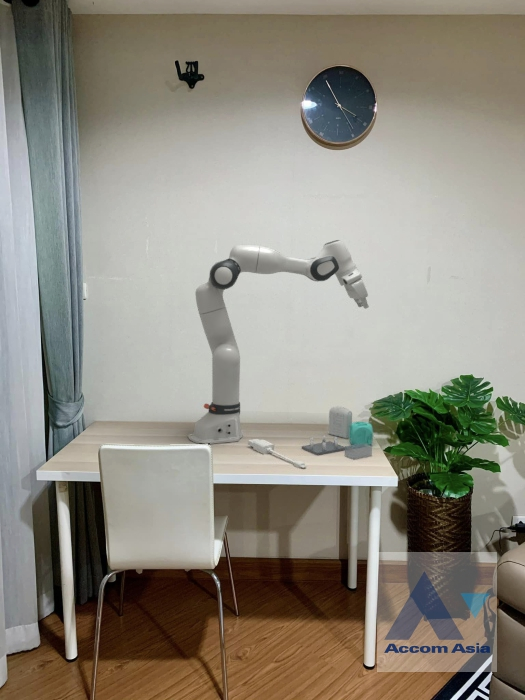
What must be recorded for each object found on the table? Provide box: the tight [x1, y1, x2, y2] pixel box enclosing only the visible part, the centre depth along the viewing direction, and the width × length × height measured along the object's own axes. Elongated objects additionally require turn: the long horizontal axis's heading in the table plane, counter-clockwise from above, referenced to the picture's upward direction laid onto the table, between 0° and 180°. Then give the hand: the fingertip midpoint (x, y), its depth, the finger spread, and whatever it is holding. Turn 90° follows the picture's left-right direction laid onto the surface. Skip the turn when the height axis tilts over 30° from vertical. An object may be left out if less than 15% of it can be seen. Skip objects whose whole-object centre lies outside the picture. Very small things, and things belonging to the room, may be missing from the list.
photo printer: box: [328, 406, 353, 440], centre depth 254 cm, size 10×4×12 cm, turn 47°
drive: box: [344, 443, 373, 460], centre depth 228 cm, size 9×5×4 cm, turn 122°
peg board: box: [301, 435, 345, 456], centre depth 235 cm, size 14×10×4 cm
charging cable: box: [247, 438, 307, 469], centre depth 225 cm, size 5×32×3 cm, turn 35°
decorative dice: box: [349, 421, 374, 446], centre depth 244 cm, size 8×8×8 cm
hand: (363, 307), depth 248 cm, fingers open, 8 cm apart
